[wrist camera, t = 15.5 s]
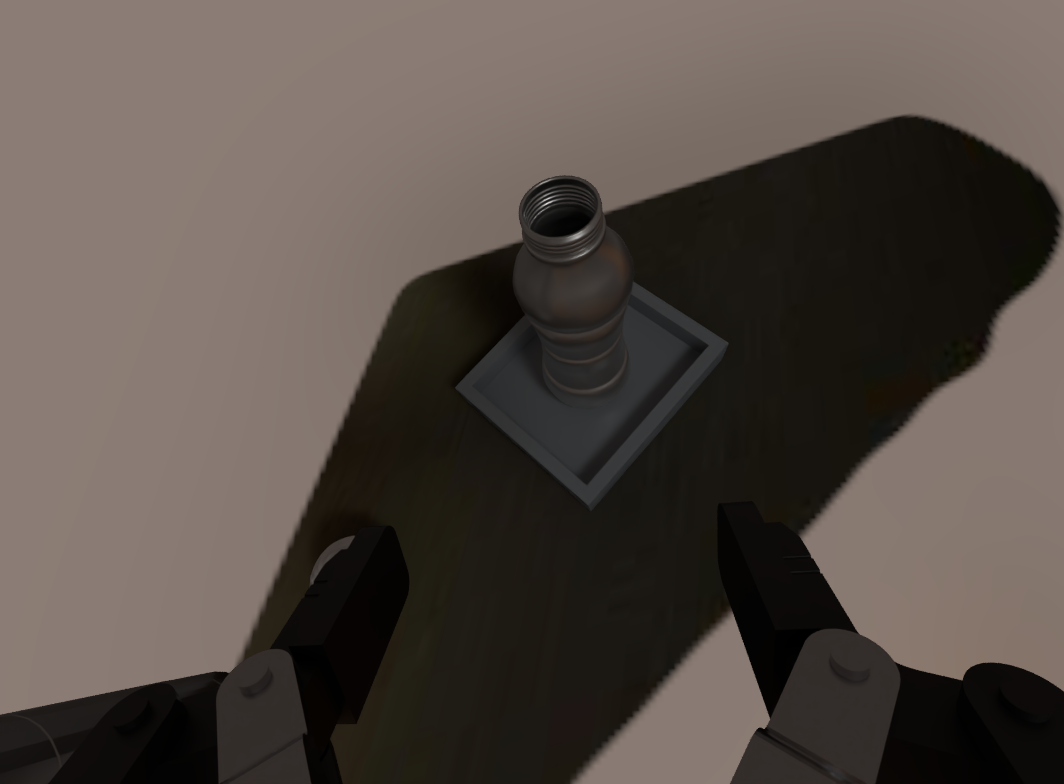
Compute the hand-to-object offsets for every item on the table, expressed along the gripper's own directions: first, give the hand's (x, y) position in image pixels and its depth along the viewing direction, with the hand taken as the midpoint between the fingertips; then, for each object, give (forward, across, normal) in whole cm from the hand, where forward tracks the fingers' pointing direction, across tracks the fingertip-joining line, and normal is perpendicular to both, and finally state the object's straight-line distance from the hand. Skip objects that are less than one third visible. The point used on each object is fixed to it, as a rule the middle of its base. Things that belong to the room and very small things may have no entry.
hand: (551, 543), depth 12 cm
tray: (+29, -1, +8) cm, 30 cm away
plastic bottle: (+28, -1, +7) cm, 29 cm away
